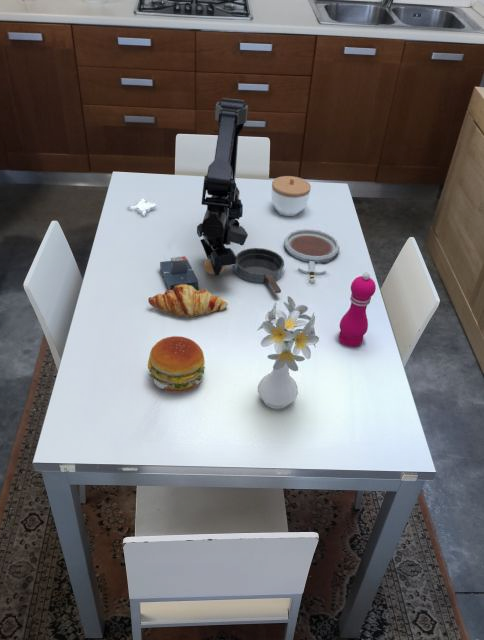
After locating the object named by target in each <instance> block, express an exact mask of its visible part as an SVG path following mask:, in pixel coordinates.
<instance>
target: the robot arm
mask: <svg viewBox="0 0 484 640" xmlns="http://www.w3.org/2000/svg"><path fill="white" fill-rule="evenodd" d="M248 116H249V105H247V103H246V102H245V100H244V99H235V98H229V97H228V98H227V97H222V98H221V101H217V102H216V104H215V115H214V120H215V121H217V126H218V133H217V140H216V145H215V153H214V158H213V159H214V160H213V161H212V162H211V163H210V164H209V165H208V168H207V174H205V175H204V176H203V177H204V178H203V184H202V185H203V186H202V195H201V196H202V197H201V205H202V206H206V211H205V213H204V216H203V219H202V221H201V223H198V225H197V226H196V234H197V236H198V237H199V238H201V239H200V243H201V246H202V249H203V250H204V251H203V252H204V253H205V257H206V258H207V259H210V262H211V265H212V268H213V270H214V273H215V274H214V276H220V274H221V273H222V272H221V269H222V267H223V266H225V265H226V266H235V264H236V259H237V257H236V255H237V254H236V253H235V251H234V250H233V249H232V248H231V247H226V246H230V245H231V243H233V244H237V245H239V246H244V245H245V243H246V241H247V239H248V236H249V234H248V232H247V230H246V229H245V228H244V227H243V226H242V225H240V221H239V220H240V219H241V218H243V214H244V213H243V212H244V204H243V203H242V199H240V189H239V188H238V186H237V183H236V173H237V162H238V161H237V159H238V146H239V145H238V144H239V135H240V133H241V132H242V131H243V129H244V127H245V124H246V123H247V121H248ZM206 194H207V195H206ZM225 245H226V246H225ZM220 272H221V273H220Z"/></svg>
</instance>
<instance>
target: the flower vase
mask: <svg viewBox="0 0 484 640" xmlns="http://www.w3.org/2000/svg"><path fill="white" fill-rule="evenodd" d="M277 302H278V301H277V300H275V302H274V304H273V306H272V309H271V310H269V311H268V312H267V313H266V314H265V318H264V319H265V321H262V323H261V325H260V326H258V328H257V329H256V332H257V331H260V330H261V329H263V330H264V332H266V333H267V334H268V335H266V336H264V337H263V338H262V340H261V341H260V345H261V347H264V348H266V347H269V346H271V345H272V344H274V345H273V346H274V350H275V352H276V353H272V354H268V355H267V358H268V359H269V360H273V361H274V363H273V365H272V371H271V372H270V373H268V374H266V375H264V376H263V377H262V378H261V379H260V380H259V383H258V385H257V393H258V397H260V399H261V400H262V401H263V403H264V404H265V405H266V406H267V407H268V408H271V409H274V410H281V409H284V408H287V406H289V405H290V404H292V403H293V402H295V400H296V399H297V397H298V394H299V387H298V384H297V382H296V380H295V379H294V378H293V377H292V376H291V375H290V370H291V371H292V372H298V371H299V366H298V364H297V362H303V361H305V360H306V359H307V360H310V359H311V356H312V351H311V348H310V347H309V346H314V348H316V344H317V343H319V342H320V337H319V336H318V335H316V330H315V323H316V315H315V312H313V313H312V315H311V316H310V315H308V314H306V312H307V311H308V310H309V307H308V306H307V305H305V304H299V305H297V306H296V302H295V301H294V299H293V298H292V296H289V295H288V296H287V302H286V301H283V304H284V306H285V308H286V310H287V311H288V313H289V314H288V316H287V314H286V313H285V312H284V311H283V310H281V309H277ZM277 318H278V319H277ZM302 319H303V320H302ZM305 320H308V322H307V321H305ZM302 326H304V327H303V328H297V327H302ZM295 328H296V329H295ZM292 348H293V349H292ZM300 352H301V353H302V355H299V354H300Z"/></svg>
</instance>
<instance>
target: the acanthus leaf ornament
mask: <svg viewBox="0 0 484 640" xmlns="http://www.w3.org/2000/svg"><path fill="white" fill-rule="evenodd" d="M156 207H157V204H156V203H153V202H150V201H148V202H146V199H145V198H140V200H139V201H138V202H137V204H136V205H130V206H129V210H130V211H136V212H138V214H139V215H141V216H142V217H145V216H146V215H147V213H150V211H155V210H156Z"/></svg>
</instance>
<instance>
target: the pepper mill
mask: <svg viewBox="0 0 484 640" xmlns="http://www.w3.org/2000/svg"><path fill="white" fill-rule="evenodd" d="M376 288H377V286H376V282H375V280H374V279H373V278H371V275H370V273H369V272H364V273H362V275H359V276H357V277H356V278H354V279H353V281H352V282H351V285H350V292H351V294H350V297H349V300H350V306H349V308H348V310H347V311H346V313H344V315H343V316H342V317H341V319H340V322H339V326H338V327H339V330H340V331H339V334H338V340H339V342H340V344H342V345H344V346H346V347H349V348H355V347H359V346H361V345H362V344H363V340H364V335H365V334H367V332H368V330H369V329H368V327H369V320H368V316H367V308H368V306H369V305H370V303H371V300H372V297H373V296H374V295H375V293H376Z"/></svg>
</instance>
